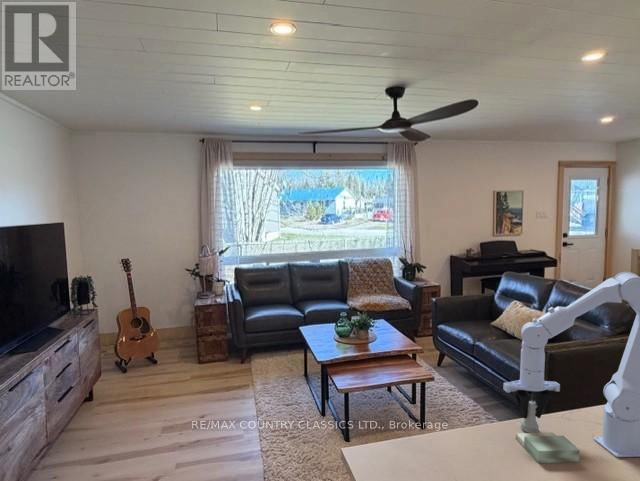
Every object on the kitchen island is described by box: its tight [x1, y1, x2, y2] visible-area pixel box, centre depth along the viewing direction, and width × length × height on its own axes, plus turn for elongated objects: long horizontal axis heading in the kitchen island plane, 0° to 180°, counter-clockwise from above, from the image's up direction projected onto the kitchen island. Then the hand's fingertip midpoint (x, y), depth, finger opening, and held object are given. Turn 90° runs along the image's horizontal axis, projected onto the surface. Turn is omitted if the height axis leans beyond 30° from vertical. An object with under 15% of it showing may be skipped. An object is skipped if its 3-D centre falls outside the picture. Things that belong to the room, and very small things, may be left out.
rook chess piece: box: [520, 399, 540, 433], centre depth 109 cm, size 4×4×8 cm
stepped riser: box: [515, 432, 581, 464], centre depth 100 cm, size 10×10×3 cm
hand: (530, 416), depth 109 cm, fingers closed on rook chess piece, 3 cm apart
